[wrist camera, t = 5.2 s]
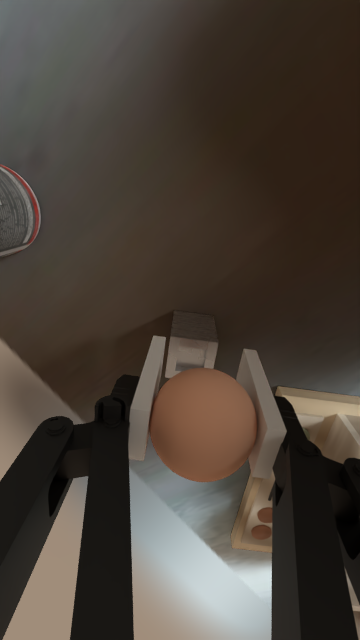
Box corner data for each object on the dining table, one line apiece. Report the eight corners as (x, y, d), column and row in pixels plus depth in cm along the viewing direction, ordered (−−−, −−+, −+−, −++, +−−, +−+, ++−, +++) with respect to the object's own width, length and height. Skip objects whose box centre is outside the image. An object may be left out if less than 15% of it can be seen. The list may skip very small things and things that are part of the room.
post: (174, 310, 22) (170, 336, 18) (213, 315, 22) (218, 342, 18) (169, 344, 23) (165, 377, 19) (206, 349, 23) (210, 383, 19)
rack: (277, 386, 24) (324, 485, 16) (439, 407, 25) (569, 515, 16) (230, 536, 32) (245, 657, 24) (354, 550, 32) (413, 675, 24)
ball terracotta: (161, 342, 14) (145, 407, 10) (257, 356, 14) (283, 427, 10) (152, 417, 16) (135, 499, 12) (237, 429, 16) (251, 516, 12)
